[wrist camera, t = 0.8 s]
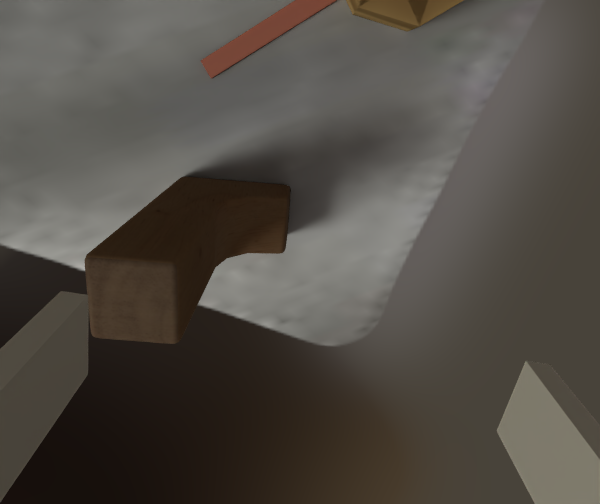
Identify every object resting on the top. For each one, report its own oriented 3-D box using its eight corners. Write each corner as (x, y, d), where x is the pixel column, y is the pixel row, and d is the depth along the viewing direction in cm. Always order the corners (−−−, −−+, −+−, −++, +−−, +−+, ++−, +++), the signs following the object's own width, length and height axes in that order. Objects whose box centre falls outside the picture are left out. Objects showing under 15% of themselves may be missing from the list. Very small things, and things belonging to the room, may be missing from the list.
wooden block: (291, 184, 38) (277, 270, 22) (287, 236, 40) (271, 354, 23) (180, 175, 38) (80, 255, 22) (181, 227, 40) (88, 340, 23)
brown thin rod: (212, 78, 36) (211, 78, 35) (201, 60, 35) (200, 60, 35) (341, -3, 34) (341, -4, 33) (332, -23, 33) (332, -24, 33)
